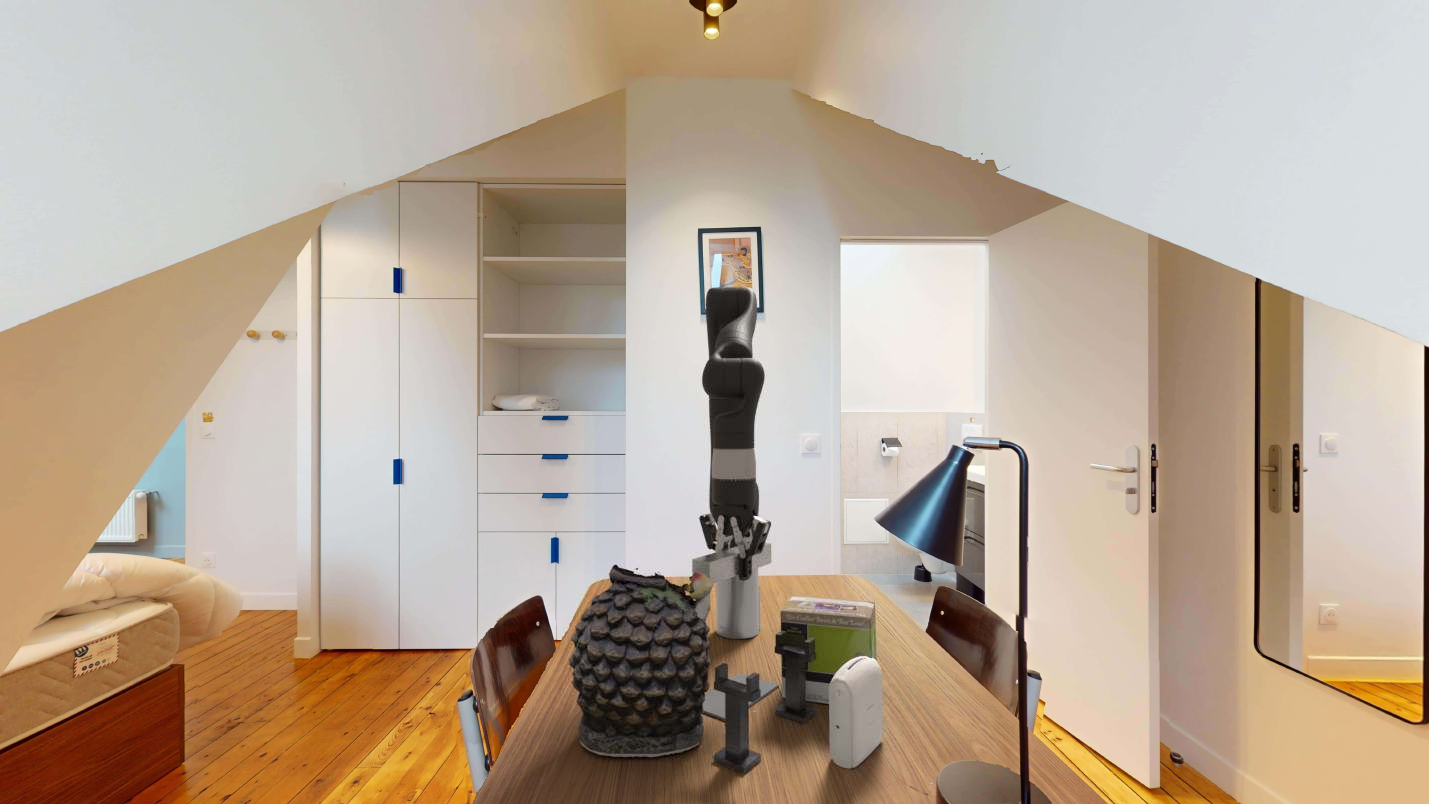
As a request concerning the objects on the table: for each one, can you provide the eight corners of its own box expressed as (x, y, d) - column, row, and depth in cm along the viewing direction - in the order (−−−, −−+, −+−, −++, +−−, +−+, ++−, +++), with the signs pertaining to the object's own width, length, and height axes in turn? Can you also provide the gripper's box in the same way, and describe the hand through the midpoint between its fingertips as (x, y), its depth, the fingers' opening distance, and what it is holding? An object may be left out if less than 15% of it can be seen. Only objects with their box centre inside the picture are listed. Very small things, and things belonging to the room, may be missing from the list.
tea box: (877, 686, 102) (876, 600, 102) (873, 713, 92) (872, 618, 93) (792, 674, 107) (791, 592, 107) (780, 699, 97) (779, 608, 98)
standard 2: (784, 703, 96) (783, 628, 96) (820, 714, 92) (819, 637, 92) (771, 712, 92) (771, 635, 93) (807, 725, 88) (807, 644, 89)
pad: (740, 674, 106) (740, 672, 106) (778, 686, 101) (778, 684, 101) (687, 706, 94) (687, 704, 94) (727, 722, 89) (727, 719, 89)
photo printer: (854, 774, 76) (853, 677, 77) (825, 761, 79) (824, 668, 79) (887, 741, 84) (886, 653, 85) (859, 731, 87) (858, 646, 87)
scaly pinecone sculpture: (712, 712, 92) (712, 553, 93) (714, 768, 77) (714, 578, 78) (580, 714, 92) (581, 554, 93) (556, 771, 77) (557, 579, 78)
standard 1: (726, 746, 83) (726, 660, 83) (765, 762, 79) (764, 671, 79) (709, 759, 80) (709, 669, 80) (748, 776, 76) (748, 682, 76)
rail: (755, 560, 107) (754, 541, 107) (771, 563, 105) (771, 543, 105) (692, 581, 93) (692, 559, 93) (709, 585, 90) (709, 562, 91)
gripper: (781, 475, 98) (782, 579, 97) (714, 472, 107) (714, 567, 106) (756, 479, 92) (757, 590, 91) (687, 474, 101) (687, 576, 100)
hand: (734, 577), depth 99 cm, fingers closed on rail, 3 cm apart
